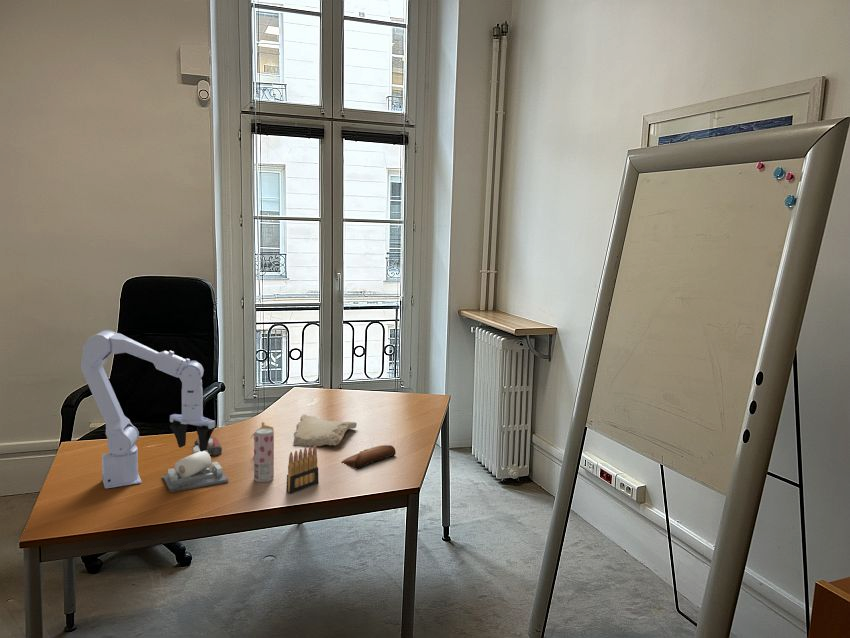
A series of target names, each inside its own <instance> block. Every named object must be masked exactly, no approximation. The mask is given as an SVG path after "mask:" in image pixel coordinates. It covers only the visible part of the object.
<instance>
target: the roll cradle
mask: <svg viewBox="0 0 850 638" xmlns="http://www.w3.org/2000/svg"><path fill="white" fill-rule="evenodd" d="M162 479H163V481H164V483H165V485H166V486H167V488H168V491H169V493H176V492H181V491H186V490H187V489H188V490H193V489H199V488H204V487H205V488H206V487H210V486H216V485H221V484H227V483H229V478H228V476H226V474H225V473H224V472H223V467H222V466H221V465H220V463H219V462H218V461H211V466H209V467H208V468H206V469H204V470H202V471H200V472H198V473H196V474H193V475H191V476H189V477H187V478H185V479H183V478H180V477H179V476H178V475H177V474H176V472H175V467H174V468H172V467H171V468H168V469H167V473H163V474H162Z"/></svg>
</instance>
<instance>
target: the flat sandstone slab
mask: <svg viewBox="0 0 850 638" xmlns="http://www.w3.org/2000/svg"><path fill="white" fill-rule="evenodd" d="M356 428H357V422H355V421H333V420H325V419H322V418H319V417H317V416H314V415H313V416H312V415H307V414H302V415H300V419H299V422H298V423H296V429H295V431H294V433H293V436H294V438H293V445H295V446H297V445H300V447H301V446H303V447H308V448H309V447H310V446H311V447H314V445H316V447H322V446H325V445H327V446H337V445H339V444H340V443H341V441H342V440H343V437H344V436H345V433H346V432H347V430H351V429H356Z"/></svg>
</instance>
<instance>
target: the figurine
mask: <svg viewBox="0 0 850 638" xmlns="http://www.w3.org/2000/svg"><path fill="white" fill-rule="evenodd" d="M260 428H270V429H272V430H273V433H274V434H275V432H274V431H275V430H274V427H272V426H269V425H267V424H266V423H265V422H264V421H262V422H261V426H260ZM260 428H258V429H260ZM254 434H255V432H254V433H252V435H251V437H250V439H252V438H254Z"/></svg>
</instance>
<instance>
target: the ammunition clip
mask: <svg viewBox="0 0 850 638" xmlns="http://www.w3.org/2000/svg"><path fill="white" fill-rule="evenodd" d="M312 447H313V448H312ZM317 449H318V448H317V446H316V445H314V446H310V447H309V446H308V449H307V446H304V449H303V450H302V448H300V449H299V451H297V450H295V451H294V453H293V452H292V451H290V452H289V457H288V465H287V466H288V467H287V475H286V490H285V491H286V493H288V494H294V493H297V492H299V491H302V490H306V489H307V488H309V487H310V488H311V487H313V486H315V485H318V484H319V483H320V482H319V480H320V479H319V467H318V451H317Z"/></svg>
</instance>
